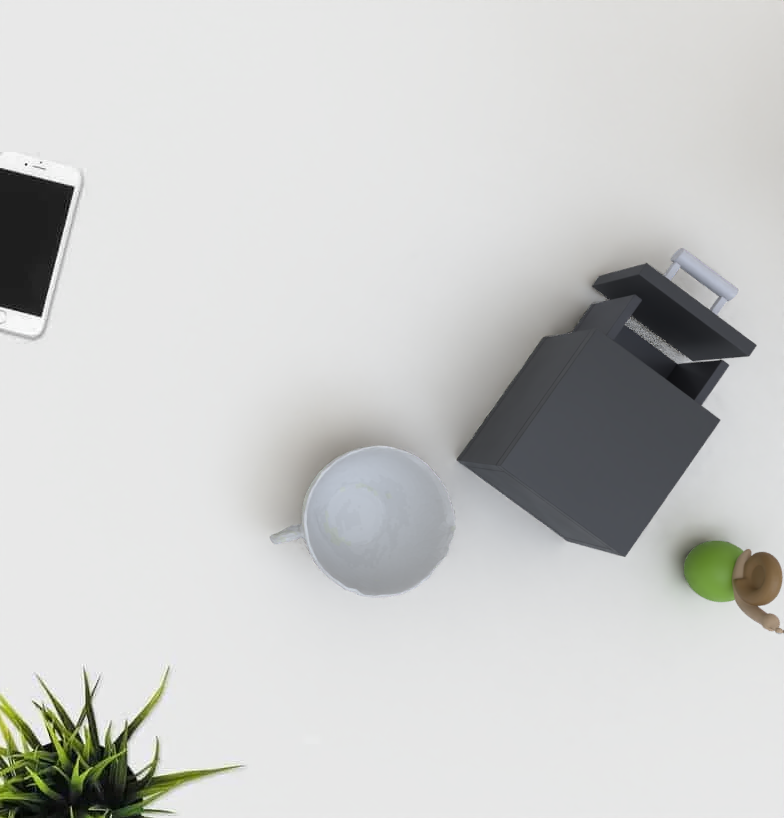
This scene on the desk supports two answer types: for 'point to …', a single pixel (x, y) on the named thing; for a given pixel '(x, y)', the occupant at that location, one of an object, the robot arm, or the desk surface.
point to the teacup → (375, 521)
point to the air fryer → (589, 440)
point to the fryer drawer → (670, 321)
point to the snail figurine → (736, 578)
